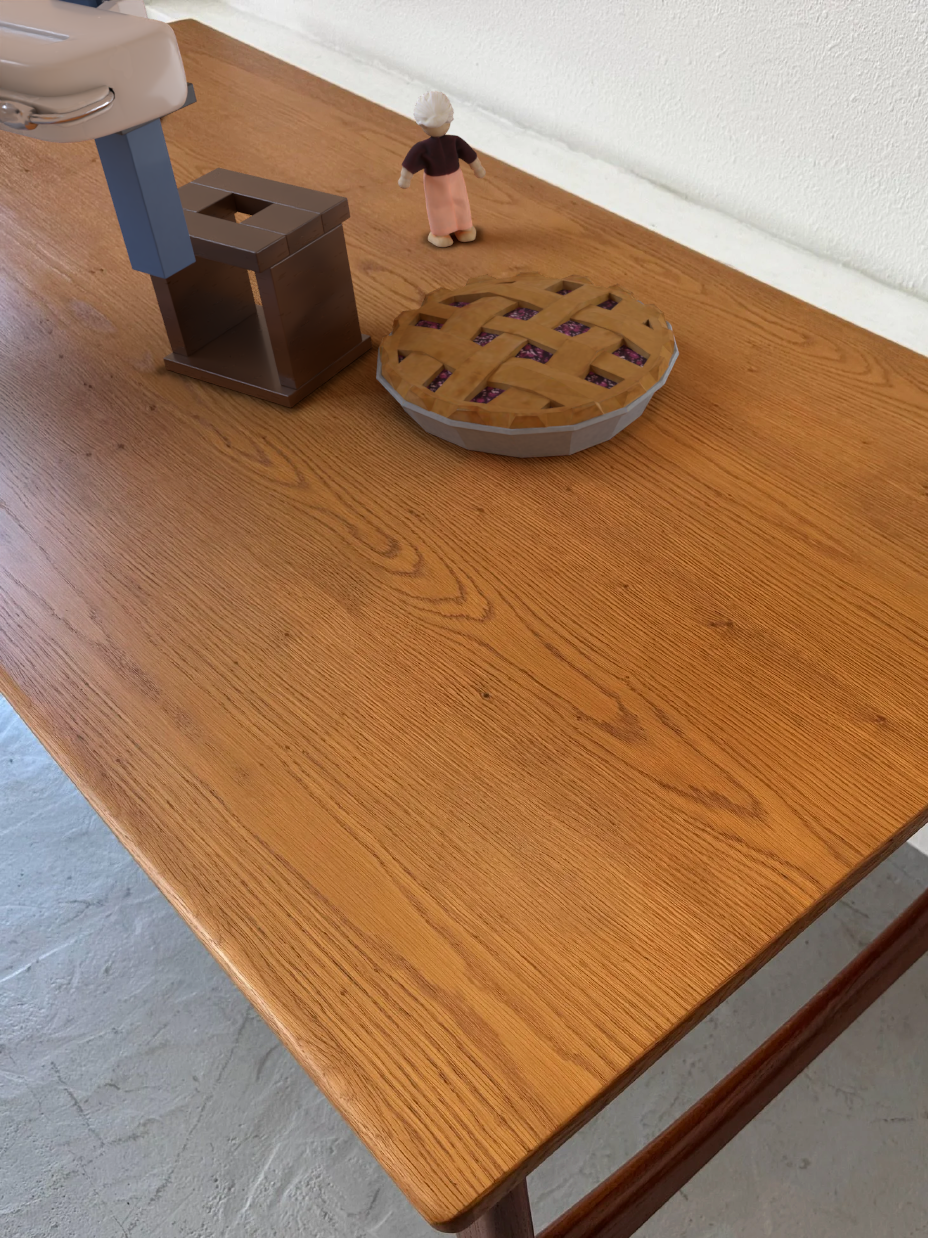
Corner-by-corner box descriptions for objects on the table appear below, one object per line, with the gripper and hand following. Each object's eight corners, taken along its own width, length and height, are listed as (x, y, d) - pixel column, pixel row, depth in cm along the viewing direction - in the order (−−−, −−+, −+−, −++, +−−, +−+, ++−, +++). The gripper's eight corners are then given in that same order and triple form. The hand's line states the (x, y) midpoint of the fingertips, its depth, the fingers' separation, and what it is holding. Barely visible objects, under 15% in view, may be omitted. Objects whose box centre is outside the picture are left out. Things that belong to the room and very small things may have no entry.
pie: (595, 502, 82) (593, 439, 79) (323, 426, 89) (310, 364, 85) (721, 351, 97) (724, 292, 93) (479, 295, 103) (473, 238, 100)
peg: (166, 296, 70) (75, -35, 59) (93, 274, 72) (-10, -51, 61) (233, 257, 74) (159, -62, 62) (162, 237, 76) (77, -76, 64)
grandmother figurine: (473, 220, 114) (459, 76, 105) (495, 235, 112) (482, 89, 103) (399, 242, 111) (378, 95, 102) (420, 258, 108) (400, 109, 100)
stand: (290, 408, 91) (255, 252, 82) (166, 369, 95) (120, 217, 86) (372, 347, 97) (347, 197, 89) (252, 313, 101) (218, 166, 93)
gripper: (21, 49, 50) (251, -36, 59) (-305, -24, 56) (-53, -90, 65) (70, 203, 54) (277, 102, 63) (-238, 118, 61) (-11, 38, 70)
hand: (106, 4), depth 64 cm, fingers closed on peg, 2 cm apart
